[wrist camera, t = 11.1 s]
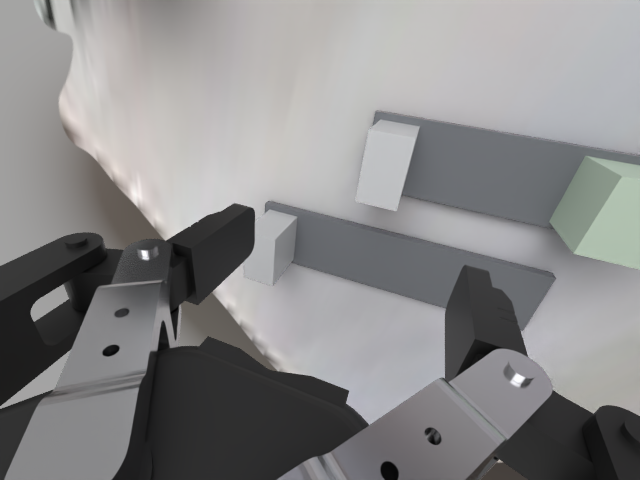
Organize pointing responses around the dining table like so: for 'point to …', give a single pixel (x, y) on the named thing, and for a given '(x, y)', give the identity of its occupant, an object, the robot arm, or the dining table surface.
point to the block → (602, 212)
